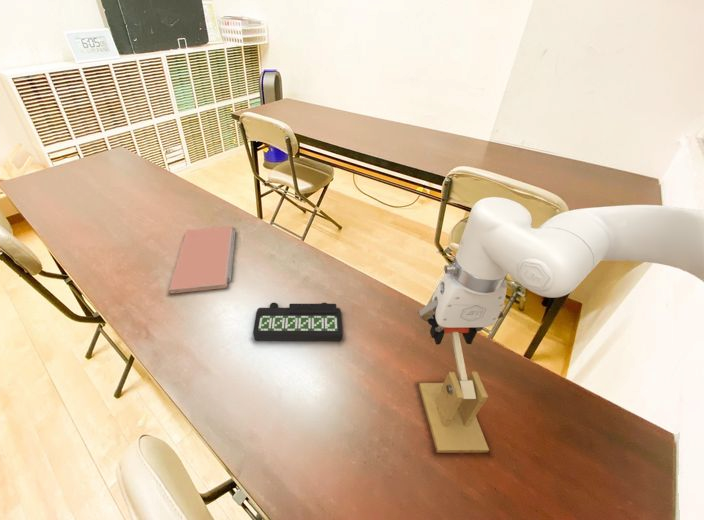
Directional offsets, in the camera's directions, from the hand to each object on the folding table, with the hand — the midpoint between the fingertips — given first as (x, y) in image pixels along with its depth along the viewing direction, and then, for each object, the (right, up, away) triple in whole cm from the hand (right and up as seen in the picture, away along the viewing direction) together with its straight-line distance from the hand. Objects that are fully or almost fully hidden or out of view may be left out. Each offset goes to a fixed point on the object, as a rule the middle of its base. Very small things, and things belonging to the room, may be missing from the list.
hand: (450, 337), depth 62 cm
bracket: (0, -16, +1) cm, 16 cm away
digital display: (-30, -4, +19) cm, 36 cm away
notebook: (-59, +10, +40) cm, 72 cm away
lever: (0, -3, -3) cm, 4 cm away
